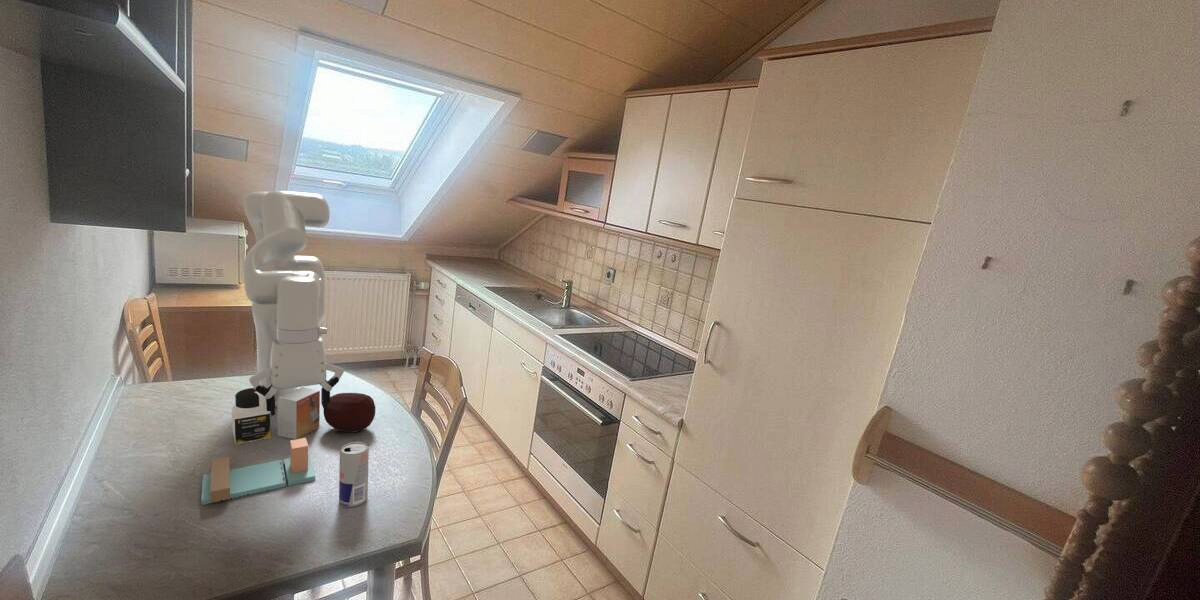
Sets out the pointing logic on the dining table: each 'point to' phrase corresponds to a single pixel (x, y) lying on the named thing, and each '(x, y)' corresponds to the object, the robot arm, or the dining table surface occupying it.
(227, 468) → the teal plate with bar
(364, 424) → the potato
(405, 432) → the dining table surface
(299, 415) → the small box
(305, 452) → the stub
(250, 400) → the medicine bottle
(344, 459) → the energy drink
